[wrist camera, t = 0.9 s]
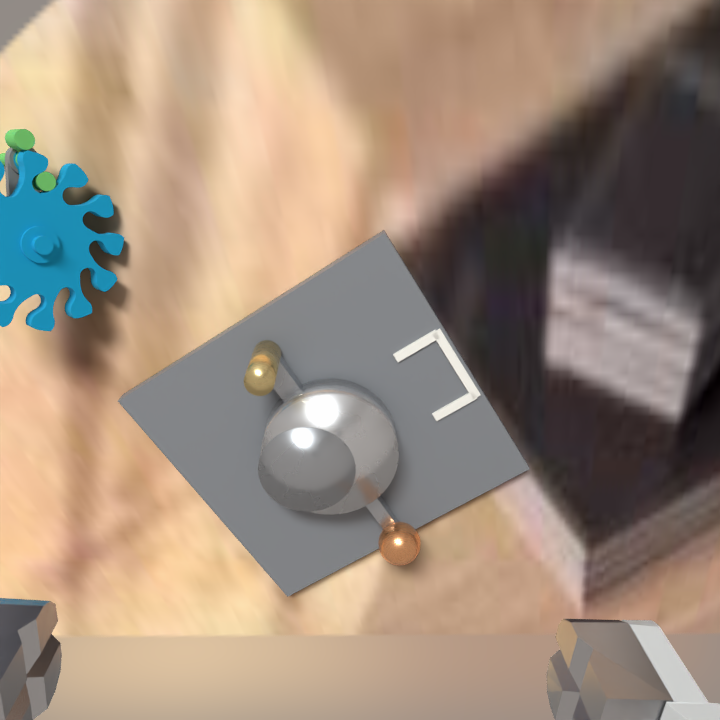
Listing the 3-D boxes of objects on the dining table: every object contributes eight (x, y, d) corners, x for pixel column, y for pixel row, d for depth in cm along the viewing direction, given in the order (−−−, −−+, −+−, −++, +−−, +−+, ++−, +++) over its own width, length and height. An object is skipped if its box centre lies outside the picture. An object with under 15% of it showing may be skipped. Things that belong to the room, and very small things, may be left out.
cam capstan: (317, 306, 40) (314, 330, 36) (460, 514, 47) (472, 556, 42) (197, 380, 42) (181, 412, 38) (351, 572, 48) (352, 617, 44)
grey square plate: (383, 230, 40) (385, 233, 39) (526, 461, 47) (530, 470, 46) (122, 394, 44) (116, 402, 43) (288, 587, 50) (287, 598, 49)
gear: (129, 326, 40) (-52, 343, 33) (87, 310, 44) (-85, 322, 37) (127, 141, 38) (-71, 116, 30) (82, 141, 41) (-104, 119, 34)
